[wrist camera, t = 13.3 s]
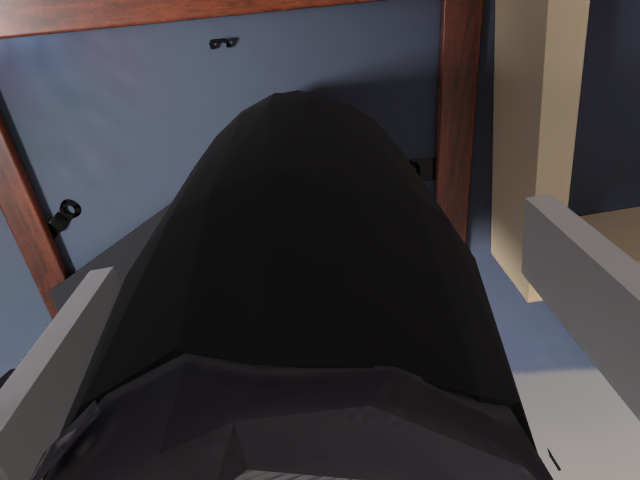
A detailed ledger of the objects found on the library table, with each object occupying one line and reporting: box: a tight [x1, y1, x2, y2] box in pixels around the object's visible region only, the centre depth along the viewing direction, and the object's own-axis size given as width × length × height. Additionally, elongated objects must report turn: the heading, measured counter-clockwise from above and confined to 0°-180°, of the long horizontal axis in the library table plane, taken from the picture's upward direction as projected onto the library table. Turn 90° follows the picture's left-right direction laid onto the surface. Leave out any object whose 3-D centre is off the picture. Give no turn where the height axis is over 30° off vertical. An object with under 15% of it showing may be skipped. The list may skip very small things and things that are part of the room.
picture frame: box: [0, 0, 483, 319], centre depth 25 cm, size 20×2×25 cm
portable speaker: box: [30, 90, 561, 480], centre depth 15 cm, size 9×9×20 cm
